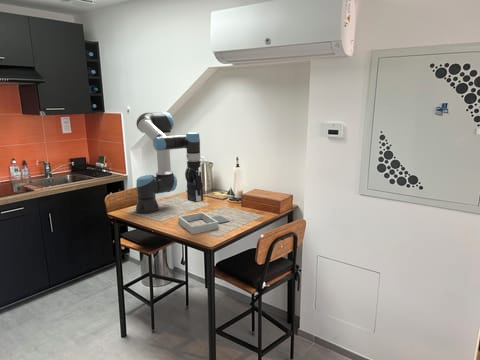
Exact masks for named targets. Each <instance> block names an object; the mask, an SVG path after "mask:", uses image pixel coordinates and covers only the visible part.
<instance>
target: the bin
mask: <svg viewBox="0 0 480 360" xmlns="http://www.w3.org/2000/svg"><path fill="white" fill-rule="evenodd" d="M177 217H178V218H177V220H178V221H177V222H178V224H179V225H180V226H182V227H183V228H185V229H186V230H187V231H188V232H189V233H190V234H192V235H195V234H199V233H204V232H208V231H213V230H219V226H220V225H219V224H218V221H216V220H214V219H213V218H211V217H212V216H209V215H208V214H206V213H205V212H203V211H200V212H196V213H195V212H194V213H191V214H190V213H189V214H183V215H179V216H177ZM197 220H203V221H205V222H206V223H203V224H198V225H192V224H191V223H190V222H192V221H197Z"/></svg>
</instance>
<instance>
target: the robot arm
mask: <svg viewBox="0 0 480 360" xmlns="http://www.w3.org/2000/svg"><path fill="white" fill-rule="evenodd" d="M135 125H136V128H137V130H139V131H140V132H141V133H143V134H145V135H146V137H148V138H149V139H150V140H151V141H152V146H153V148H154V150H155V151H156V160H157V172H156V174H155V175H153V174H146V175H142V176H140V177H138V178H137V179H136V192H137V193H136V194H137V201H136V205H135V212H136V213H137V212H138V214H152V212H153V213H155V212H158V211H159V210H160V206H159V203H158V201H157V199H156V194H157V195H158V194H163V193H170V192H173V191H175V190H176V189H177V186H178V179H177V176H176V174H174V171H172V168H171V167H172V165H171V150H179V149H180V150H181V149H186V155H185V157H186V160H187V161H186V167H187V182H186V184H187V183H188V182H194V181H195V185H196V201H200V202H202V201H201V189H203V190H204V187H203V188H202V183H203V182H202V181H203V180H202V172H201V171H199V168H201V166H202V165H201V139H200V133H199V132H186V134H180V135H170V134H171V132H172V130H173V129H174V125H175V124H174V120H173V117H172V114H171V113H169V112H166V111H165V112H164V111H162V112H158V111H157V112H156V111H155V112H145V113H142V114H140V115H139V116H138V118H137V119H136V124H135Z"/></svg>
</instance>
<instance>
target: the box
mask: <svg viewBox="0 0 480 360" xmlns="http://www.w3.org/2000/svg"><path fill="white" fill-rule="evenodd" d="M187 182H188V181H187ZM187 182H186V194H187V195H186V196H187V197H186V198H187V201H188V202H189V201H190V202H193V203H199V202H203V201H204V185H203V182H202V188H203V189H201V201H196V185H195V180H194V182H188V183H187Z"/></svg>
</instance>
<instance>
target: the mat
mask: <svg viewBox="0 0 480 360" xmlns="http://www.w3.org/2000/svg"><path fill="white" fill-rule="evenodd" d="M210 217H211V218H213V219H214V220H216V221H218V225H220V224H225V223H229V222H230V220H229V219H227V218H226V217H224V216H222V215H220V214H219V215H216V216H210Z"/></svg>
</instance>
